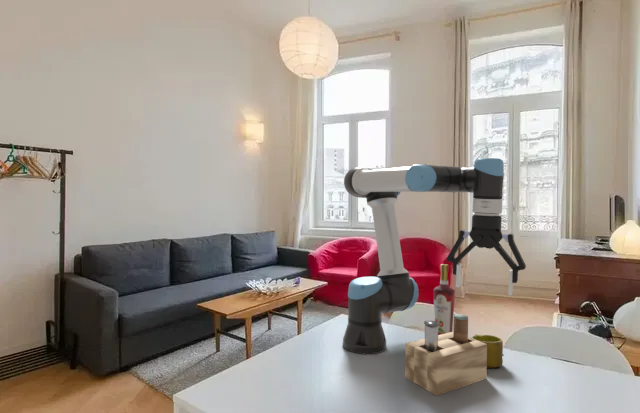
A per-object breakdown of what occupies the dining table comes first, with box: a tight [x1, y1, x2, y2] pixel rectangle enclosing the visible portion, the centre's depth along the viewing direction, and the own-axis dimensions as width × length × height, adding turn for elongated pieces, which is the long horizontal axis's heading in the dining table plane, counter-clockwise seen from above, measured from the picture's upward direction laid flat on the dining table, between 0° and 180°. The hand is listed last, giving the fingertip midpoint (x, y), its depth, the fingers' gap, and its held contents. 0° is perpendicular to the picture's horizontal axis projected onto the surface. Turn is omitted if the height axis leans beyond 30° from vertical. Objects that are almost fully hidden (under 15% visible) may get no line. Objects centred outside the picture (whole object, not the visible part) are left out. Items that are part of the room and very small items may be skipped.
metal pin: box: [423, 319, 439, 352], centre depth 108 cm, size 4×4×9 cm
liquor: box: [433, 263, 456, 335], centre depth 139 cm, size 7×7×28 cm
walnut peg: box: [453, 313, 469, 344], centre depth 114 cm, size 4×4×9 cm
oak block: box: [404, 331, 488, 397], centre depth 112 cm, size 12×20×10 cm, turn 120°
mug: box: [470, 333, 504, 369], centre depth 123 cm, size 12×10×10 cm
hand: (483, 290), depth 108 cm, fingers open, 13 cm apart
